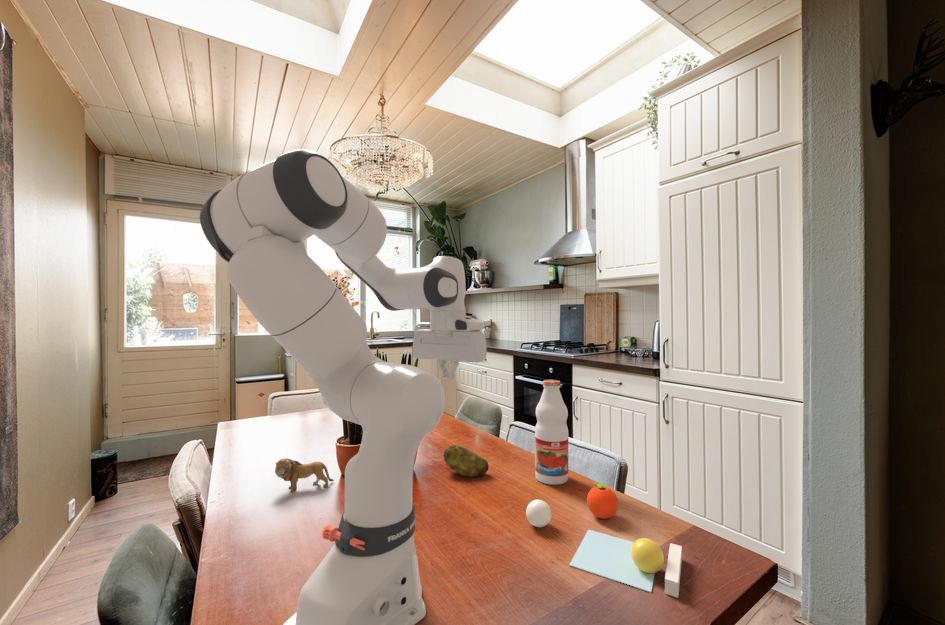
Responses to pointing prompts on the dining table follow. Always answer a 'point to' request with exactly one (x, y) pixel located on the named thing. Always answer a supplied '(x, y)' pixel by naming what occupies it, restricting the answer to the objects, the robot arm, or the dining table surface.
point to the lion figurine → (300, 472)
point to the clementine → (602, 501)
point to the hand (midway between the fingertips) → (447, 378)
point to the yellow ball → (647, 555)
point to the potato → (465, 461)
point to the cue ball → (538, 513)
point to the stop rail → (673, 570)
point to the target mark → (611, 560)
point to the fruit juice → (551, 436)
